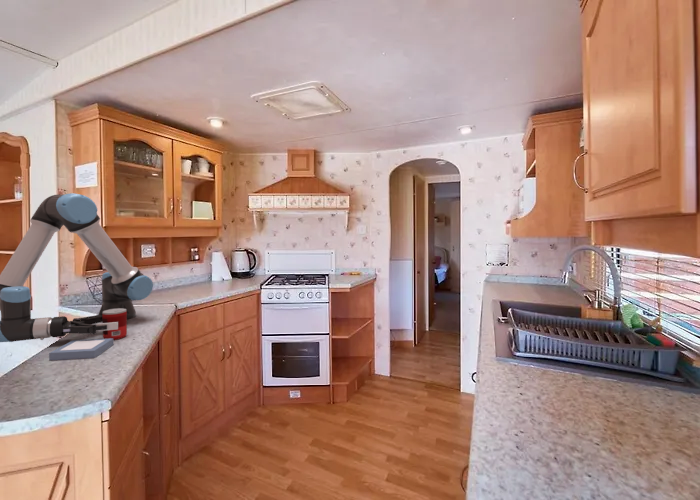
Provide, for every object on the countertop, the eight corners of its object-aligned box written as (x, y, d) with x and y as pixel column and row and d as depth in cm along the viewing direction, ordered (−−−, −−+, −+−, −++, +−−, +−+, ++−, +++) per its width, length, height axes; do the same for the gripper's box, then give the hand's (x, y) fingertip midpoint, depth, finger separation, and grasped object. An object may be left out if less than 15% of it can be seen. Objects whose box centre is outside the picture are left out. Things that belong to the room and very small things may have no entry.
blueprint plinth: (73, 346, 119) (73, 339, 119) (113, 344, 122) (113, 338, 122) (49, 360, 106) (49, 352, 106) (94, 357, 109) (94, 350, 109)
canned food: (131, 334, 134) (131, 308, 134) (115, 341, 126) (115, 313, 126) (114, 333, 135) (114, 307, 134) (97, 340, 127) (97, 312, 126)
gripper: (62, 328, 132) (125, 322, 142) (39, 347, 110) (115, 339, 120) (62, 310, 132) (125, 305, 142) (38, 326, 110) (115, 319, 120)
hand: (120, 321), depth 131 cm, fingers open, 13 cm apart
